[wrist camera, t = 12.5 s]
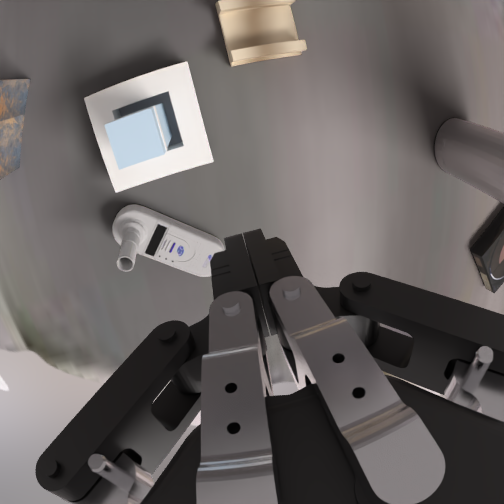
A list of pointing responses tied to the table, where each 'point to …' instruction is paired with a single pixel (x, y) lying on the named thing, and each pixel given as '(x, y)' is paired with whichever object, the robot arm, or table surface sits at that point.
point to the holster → (258, 30)
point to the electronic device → (162, 241)
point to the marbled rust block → (11, 122)
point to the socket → (178, 115)
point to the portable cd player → (491, 254)
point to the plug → (139, 136)
